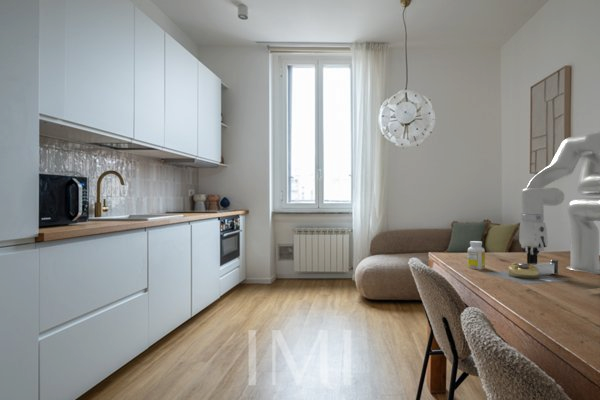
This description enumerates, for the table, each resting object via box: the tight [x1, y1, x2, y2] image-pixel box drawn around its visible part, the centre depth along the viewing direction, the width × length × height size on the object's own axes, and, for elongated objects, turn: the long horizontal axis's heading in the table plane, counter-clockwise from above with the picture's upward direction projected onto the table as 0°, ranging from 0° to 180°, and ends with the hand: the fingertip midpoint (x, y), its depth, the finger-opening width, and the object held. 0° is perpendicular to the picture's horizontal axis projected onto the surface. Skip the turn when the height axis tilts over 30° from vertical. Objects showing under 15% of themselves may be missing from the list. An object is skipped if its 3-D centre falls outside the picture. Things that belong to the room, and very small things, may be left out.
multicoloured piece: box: [507, 259, 559, 279], centre depth 137 cm, size 21×10×5 cm, turn 105°
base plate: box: [482, 270, 570, 285], centre depth 135 cm, size 20×20×2 cm
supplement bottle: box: [467, 240, 486, 270], centre depth 152 cm, size 7×7×13 cm
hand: (532, 263), depth 142 cm, fingers closed
